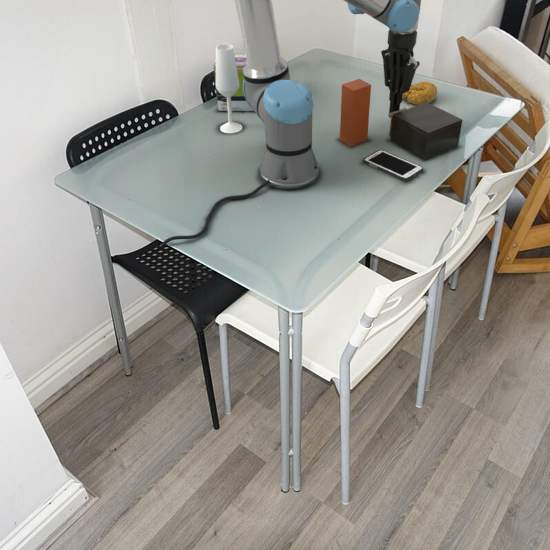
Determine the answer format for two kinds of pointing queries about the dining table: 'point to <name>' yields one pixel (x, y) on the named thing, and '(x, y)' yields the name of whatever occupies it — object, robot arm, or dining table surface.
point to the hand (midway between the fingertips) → (394, 112)
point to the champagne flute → (227, 82)
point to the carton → (355, 112)
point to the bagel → (421, 93)
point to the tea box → (238, 98)
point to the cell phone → (393, 165)
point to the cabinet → (426, 130)
